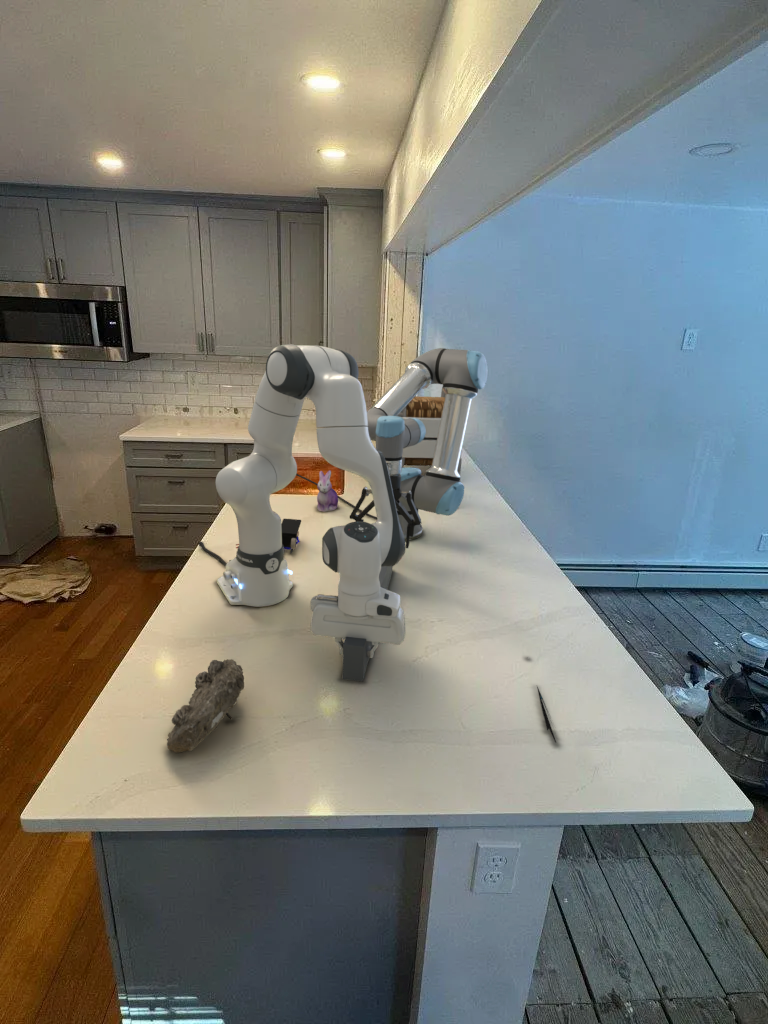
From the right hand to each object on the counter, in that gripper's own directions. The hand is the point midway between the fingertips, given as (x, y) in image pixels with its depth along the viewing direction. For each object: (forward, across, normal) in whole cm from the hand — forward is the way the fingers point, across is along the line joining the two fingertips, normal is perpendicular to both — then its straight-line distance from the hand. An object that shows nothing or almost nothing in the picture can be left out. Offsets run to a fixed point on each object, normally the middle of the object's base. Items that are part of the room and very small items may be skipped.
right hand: (383, 544), depth 163 cm
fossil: (+12, -24, -66) cm, 71 cm away
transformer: (+9, +3, +116) cm, 116 cm away
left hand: (+8, 0, -45) cm, 46 cm away
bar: (+11, 0, -22) cm, 25 cm away
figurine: (+10, -29, +55) cm, 63 cm away
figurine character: (+11, -33, +16) cm, 38 cm away
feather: (+11, +39, -48) cm, 63 cm away
